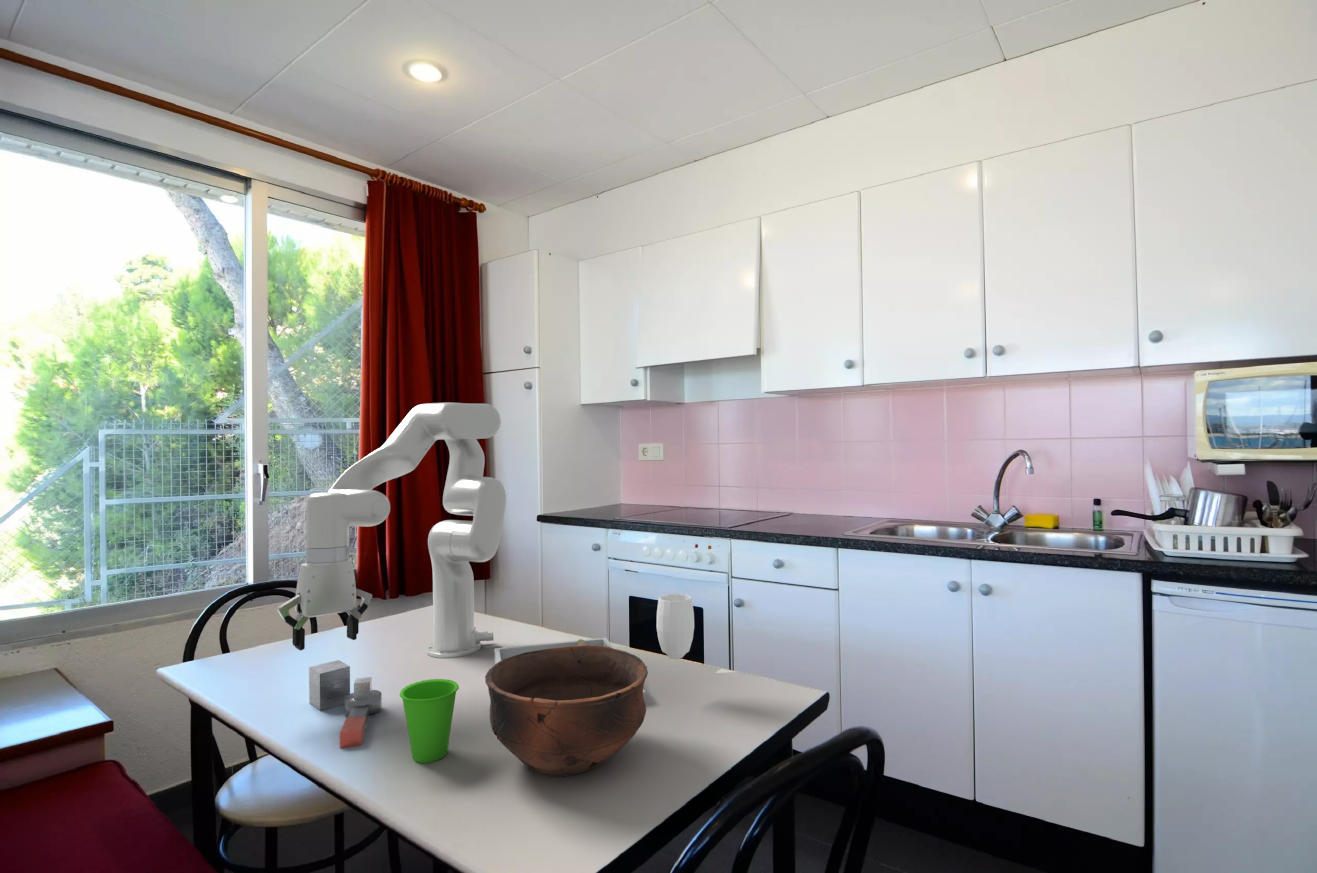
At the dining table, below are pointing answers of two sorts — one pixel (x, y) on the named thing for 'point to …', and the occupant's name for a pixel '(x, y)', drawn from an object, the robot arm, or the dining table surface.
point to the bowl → (566, 706)
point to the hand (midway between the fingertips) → (326, 643)
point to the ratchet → (359, 712)
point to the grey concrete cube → (329, 684)
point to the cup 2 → (675, 624)
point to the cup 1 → (429, 717)
